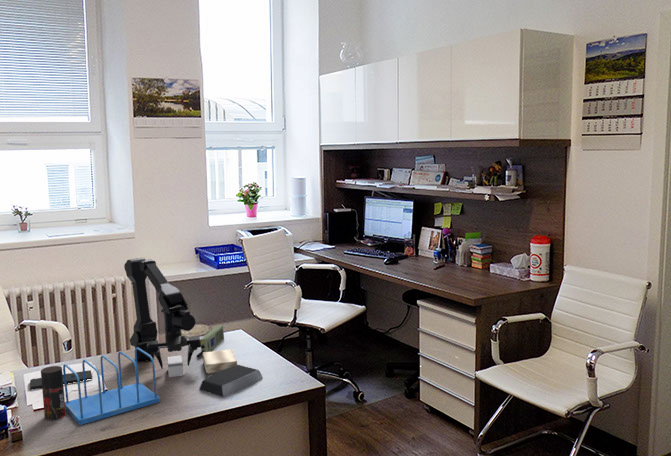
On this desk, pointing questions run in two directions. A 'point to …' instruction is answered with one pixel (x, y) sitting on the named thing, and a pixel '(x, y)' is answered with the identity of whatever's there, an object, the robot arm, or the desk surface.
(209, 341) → the handheld radio
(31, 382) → the smart home device
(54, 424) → the desk surface
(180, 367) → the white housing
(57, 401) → the deodorant
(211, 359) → the cream rectangular block
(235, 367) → the external hard drive
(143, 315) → the robot arm
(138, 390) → the file sorter
